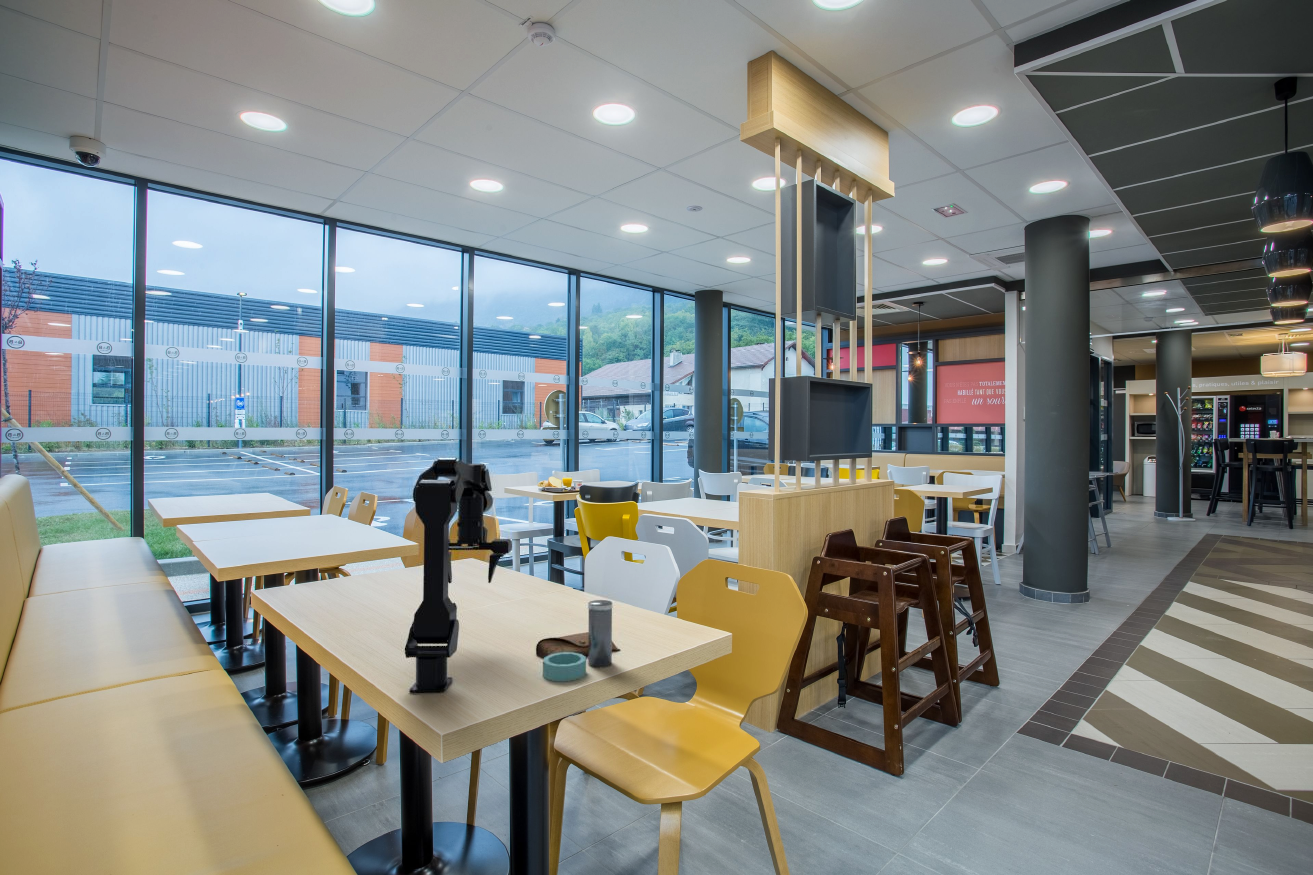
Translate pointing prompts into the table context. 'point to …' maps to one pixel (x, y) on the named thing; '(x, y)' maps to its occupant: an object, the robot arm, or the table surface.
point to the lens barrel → (600, 633)
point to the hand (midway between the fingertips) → (470, 582)
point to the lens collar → (564, 666)
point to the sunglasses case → (565, 645)
